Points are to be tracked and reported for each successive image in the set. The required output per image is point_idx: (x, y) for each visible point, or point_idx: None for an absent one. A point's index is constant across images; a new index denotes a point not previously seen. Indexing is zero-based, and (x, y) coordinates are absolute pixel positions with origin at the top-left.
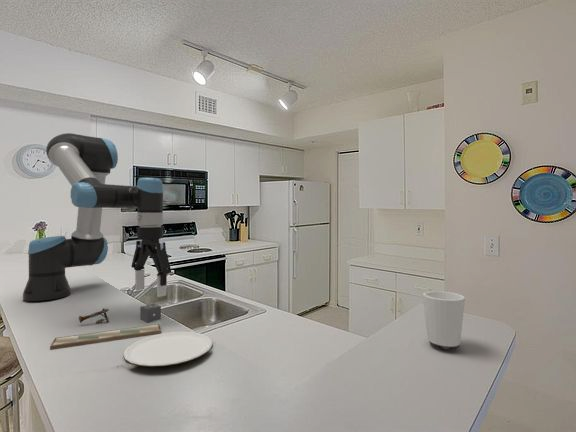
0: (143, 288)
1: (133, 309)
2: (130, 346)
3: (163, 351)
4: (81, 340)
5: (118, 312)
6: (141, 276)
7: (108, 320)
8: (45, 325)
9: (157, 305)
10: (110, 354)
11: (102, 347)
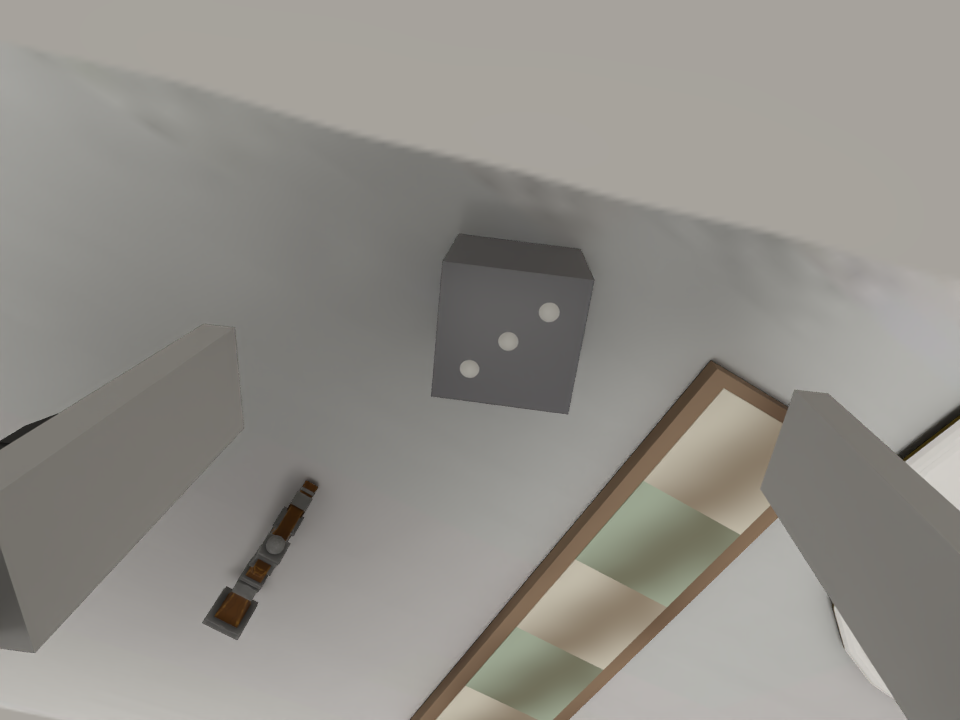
0: (231, 346)
1: (89, 194)
2: (866, 658)
3: None
4: (553, 710)
5: (102, 319)
6: (113, 473)
7: (309, 490)
8: (107, 652)
9: (540, 283)
10: (808, 702)
11: (692, 679)
